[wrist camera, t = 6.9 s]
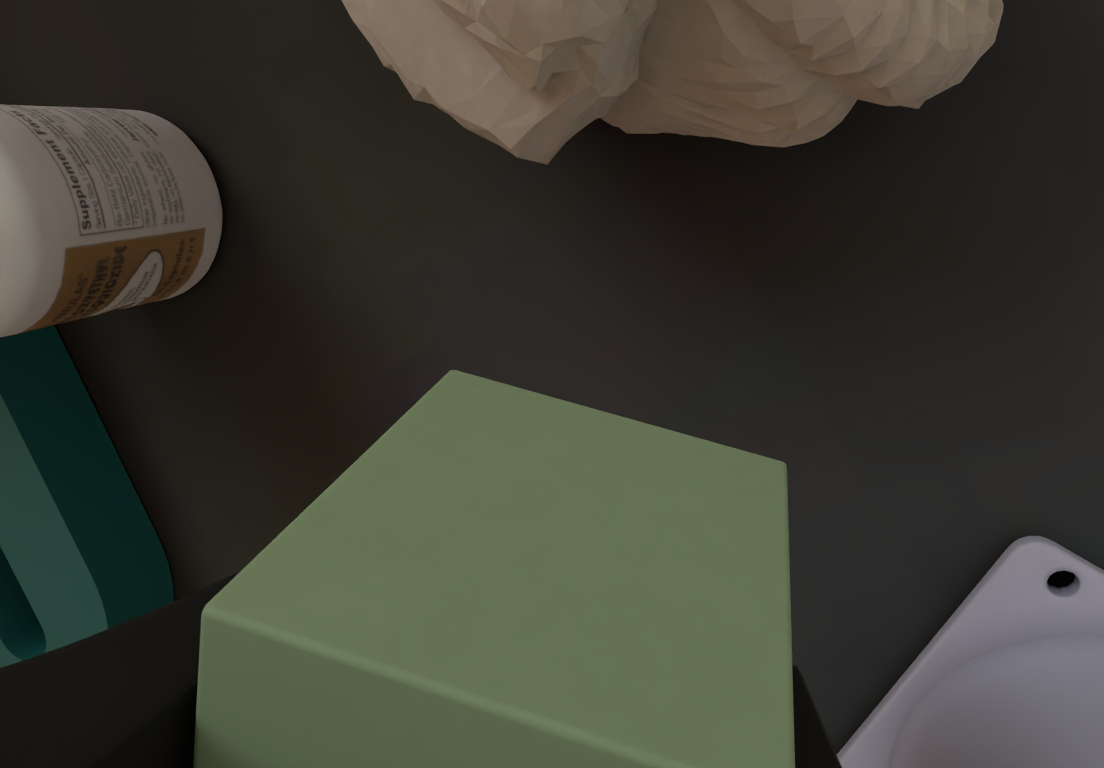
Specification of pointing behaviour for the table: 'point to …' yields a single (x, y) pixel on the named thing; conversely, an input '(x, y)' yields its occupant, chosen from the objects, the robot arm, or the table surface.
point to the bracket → (65, 510)
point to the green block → (513, 602)
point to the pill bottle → (98, 213)
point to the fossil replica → (672, 63)
